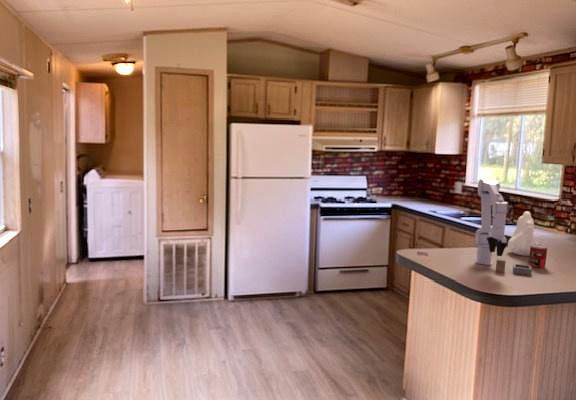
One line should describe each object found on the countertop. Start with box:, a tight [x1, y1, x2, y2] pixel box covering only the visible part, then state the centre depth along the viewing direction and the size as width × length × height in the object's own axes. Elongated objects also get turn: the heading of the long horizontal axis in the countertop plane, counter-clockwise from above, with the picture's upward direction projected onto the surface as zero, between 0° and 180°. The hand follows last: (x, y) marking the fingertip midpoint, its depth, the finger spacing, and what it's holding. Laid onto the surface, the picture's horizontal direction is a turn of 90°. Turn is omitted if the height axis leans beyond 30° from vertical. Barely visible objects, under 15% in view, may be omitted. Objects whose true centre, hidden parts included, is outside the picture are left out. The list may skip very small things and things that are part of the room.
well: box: [512, 263, 533, 277], centre depth 255 cm, size 8×8×3 cm
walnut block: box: [495, 258, 507, 274], centre depth 255 cm, size 4×4×6 cm
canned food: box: [528, 244, 548, 269], centre depth 268 cm, size 8×8×11 cm
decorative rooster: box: [507, 210, 539, 257], centre depth 291 cm, size 25×16×25 cm, turn 152°
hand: (495, 253), depth 251 cm, fingers open, 7 cm apart
